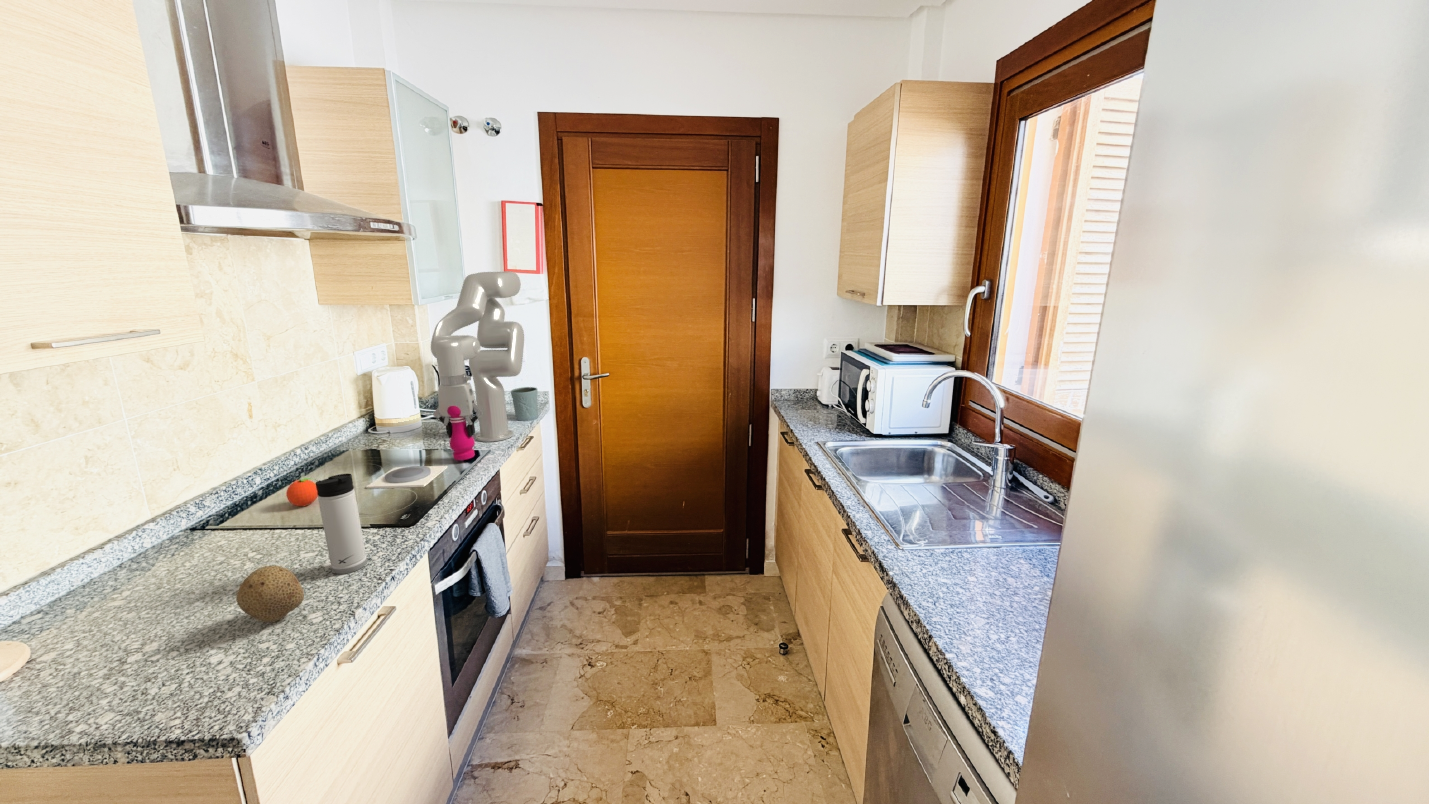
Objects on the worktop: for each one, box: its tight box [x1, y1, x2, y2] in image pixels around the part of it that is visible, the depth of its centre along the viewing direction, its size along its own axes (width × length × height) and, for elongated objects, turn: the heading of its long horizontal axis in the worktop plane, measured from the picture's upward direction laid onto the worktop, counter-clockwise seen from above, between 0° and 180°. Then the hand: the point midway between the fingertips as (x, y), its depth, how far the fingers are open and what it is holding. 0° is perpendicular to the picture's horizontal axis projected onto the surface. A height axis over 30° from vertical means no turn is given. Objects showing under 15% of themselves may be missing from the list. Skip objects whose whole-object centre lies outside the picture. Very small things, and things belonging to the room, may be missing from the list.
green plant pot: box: [510, 386, 539, 422], centre depth 235 cm, size 10×10×12 cm
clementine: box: [285, 477, 318, 507], centre depth 154 cm, size 8×7×7 cm
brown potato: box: [236, 565, 305, 623], centre depth 103 cm, size 9×9×10 cm
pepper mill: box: [447, 406, 476, 461], centre depth 184 cm, size 7×7×20 cm
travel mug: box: [315, 473, 368, 575], centre depth 119 cm, size 6×7×20 cm
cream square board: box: [365, 465, 448, 490], centre depth 172 cm, size 16×16×2 cm
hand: (461, 435), depth 184 cm, fingers closed on pepper mill, 5 cm apart
